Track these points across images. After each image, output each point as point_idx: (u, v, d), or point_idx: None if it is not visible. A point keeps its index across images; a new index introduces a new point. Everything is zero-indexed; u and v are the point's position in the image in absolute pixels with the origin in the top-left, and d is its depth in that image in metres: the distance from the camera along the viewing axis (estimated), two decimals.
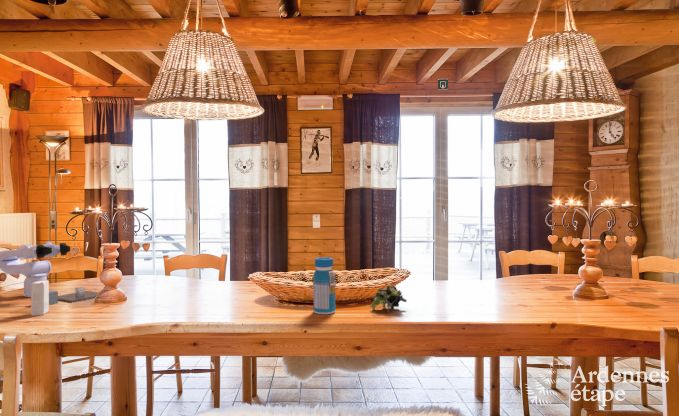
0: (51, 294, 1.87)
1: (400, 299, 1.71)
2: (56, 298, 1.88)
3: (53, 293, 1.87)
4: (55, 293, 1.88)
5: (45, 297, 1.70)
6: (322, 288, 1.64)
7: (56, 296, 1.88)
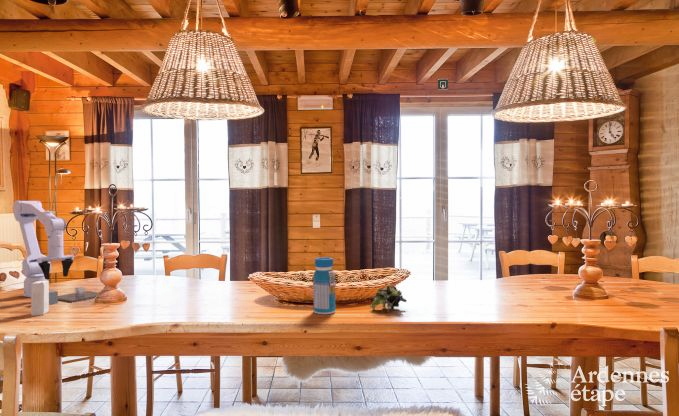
0: (51, 294, 1.87)
1: (400, 299, 1.71)
2: (56, 298, 1.88)
3: (53, 293, 1.87)
4: (55, 293, 1.88)
5: (46, 297, 1.70)
6: (322, 288, 1.64)
7: (56, 296, 1.88)
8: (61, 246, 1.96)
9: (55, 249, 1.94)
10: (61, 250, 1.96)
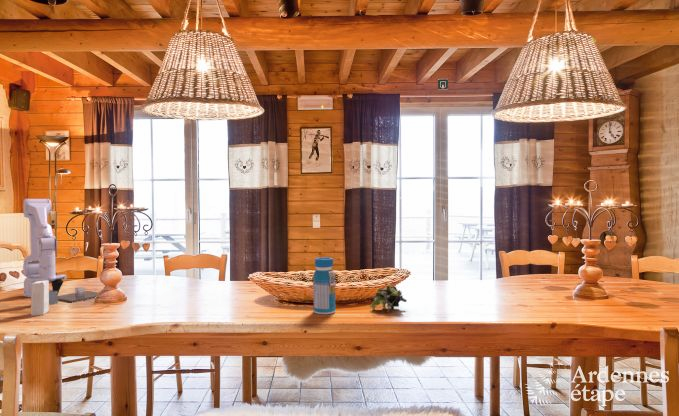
0: (51, 294, 1.87)
1: (400, 299, 1.71)
2: (56, 298, 1.88)
3: (53, 293, 1.87)
4: (55, 293, 1.88)
5: (45, 297, 1.70)
6: (322, 288, 1.64)
7: (56, 296, 1.88)
8: (53, 266, 1.87)
9: (46, 269, 1.85)
10: (53, 270, 1.87)
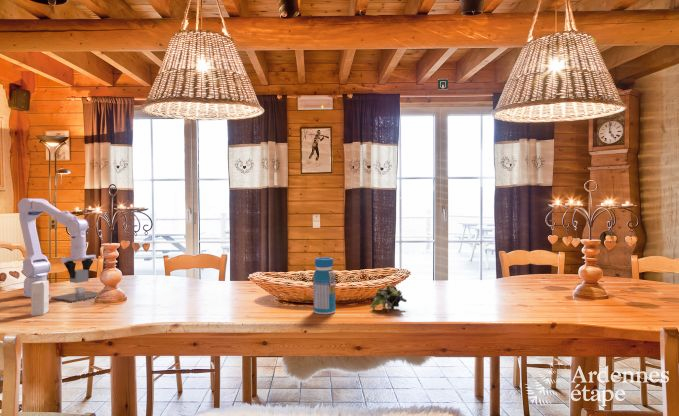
0: (82, 272, 1.99)
1: (400, 299, 1.71)
2: (87, 276, 2.01)
3: (84, 271, 2.00)
4: (86, 271, 2.00)
5: (45, 297, 1.70)
6: (322, 288, 1.64)
7: (87, 274, 2.01)
8: (84, 246, 2.00)
9: (78, 249, 1.98)
10: (84, 250, 2.00)
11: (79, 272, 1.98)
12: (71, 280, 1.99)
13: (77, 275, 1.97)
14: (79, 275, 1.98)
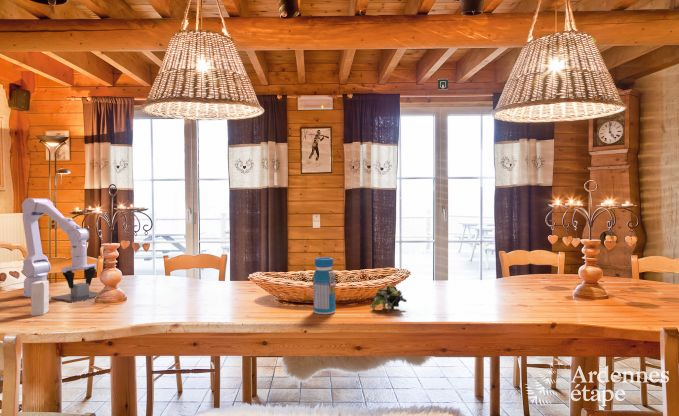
0: (83, 286, 1.99)
1: (400, 299, 1.71)
2: (87, 290, 2.01)
3: (85, 285, 2.00)
4: (87, 285, 2.01)
5: (46, 297, 1.70)
6: (322, 288, 1.64)
7: (87, 288, 2.01)
8: (84, 256, 2.00)
9: (79, 258, 1.98)
10: (84, 260, 2.00)
11: (80, 286, 1.98)
12: (72, 294, 1.99)
13: (78, 289, 1.97)
14: (80, 289, 1.98)
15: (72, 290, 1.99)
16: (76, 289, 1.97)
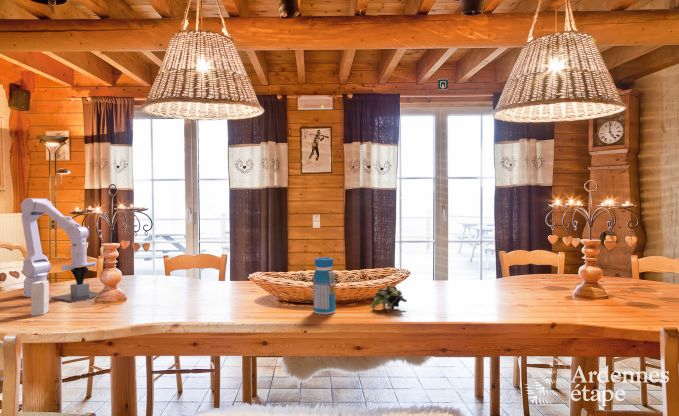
0: (83, 286, 1.99)
1: (400, 299, 1.71)
2: (87, 290, 2.01)
3: (85, 285, 2.00)
4: (87, 285, 2.01)
5: (46, 297, 1.70)
6: (322, 288, 1.64)
7: (87, 288, 2.01)
8: (84, 254, 2.00)
9: (79, 256, 1.98)
10: (84, 258, 2.00)
11: (80, 286, 1.98)
12: (72, 294, 1.99)
13: (78, 289, 1.97)
14: (80, 289, 1.98)
15: (72, 290, 1.99)
16: (76, 289, 1.97)
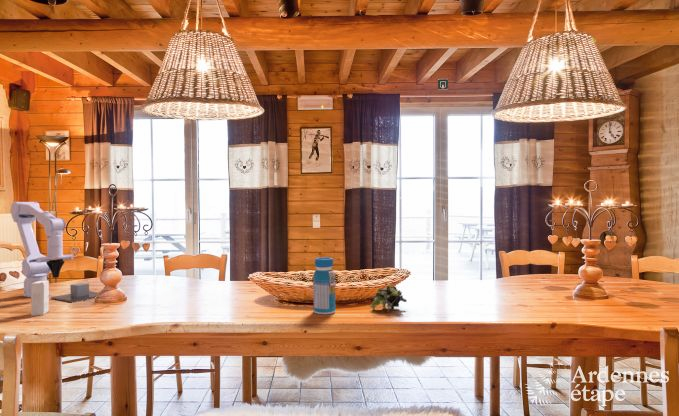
0: (83, 286, 1.99)
1: (400, 299, 1.71)
2: (87, 290, 2.01)
3: (85, 285, 2.00)
4: (87, 285, 2.01)
5: (45, 297, 1.70)
6: (322, 288, 1.64)
7: (87, 288, 2.01)
8: (60, 246, 1.97)
9: (54, 249, 1.95)
10: (60, 250, 1.97)
11: (80, 286, 1.98)
12: (72, 294, 1.99)
13: (78, 289, 1.97)
14: (80, 289, 1.98)
15: (72, 290, 1.99)
16: (76, 289, 1.97)
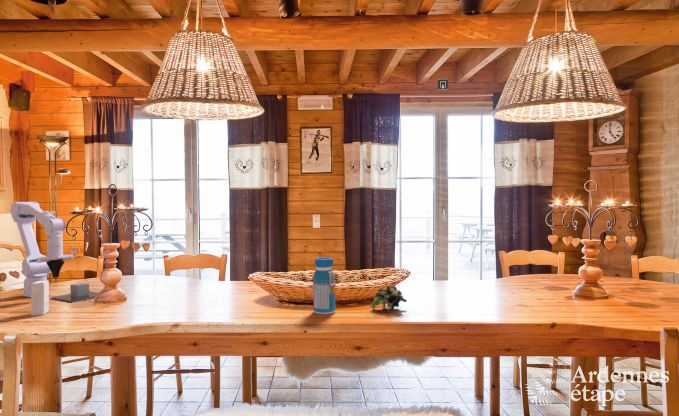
0: (83, 286, 1.99)
1: (400, 299, 1.71)
2: (87, 290, 2.01)
3: (85, 285, 2.00)
4: (87, 285, 2.01)
5: (45, 297, 1.70)
6: (322, 288, 1.64)
7: (87, 288, 2.01)
8: (60, 246, 1.97)
9: (54, 249, 1.95)
10: (60, 250, 1.97)
11: (80, 286, 1.98)
12: (72, 294, 1.99)
13: (78, 289, 1.97)
14: (80, 289, 1.98)
15: (72, 290, 1.99)
16: (76, 289, 1.97)
